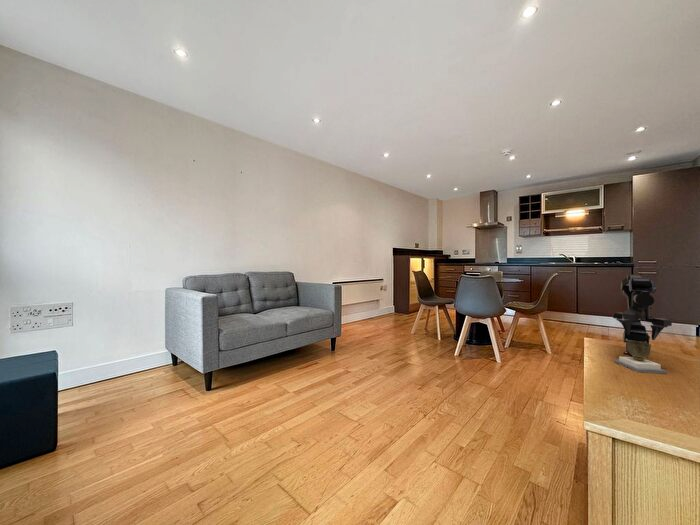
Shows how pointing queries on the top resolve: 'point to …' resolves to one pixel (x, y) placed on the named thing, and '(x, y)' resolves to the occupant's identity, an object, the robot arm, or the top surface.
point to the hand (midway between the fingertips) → (640, 337)
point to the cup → (638, 350)
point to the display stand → (640, 365)
